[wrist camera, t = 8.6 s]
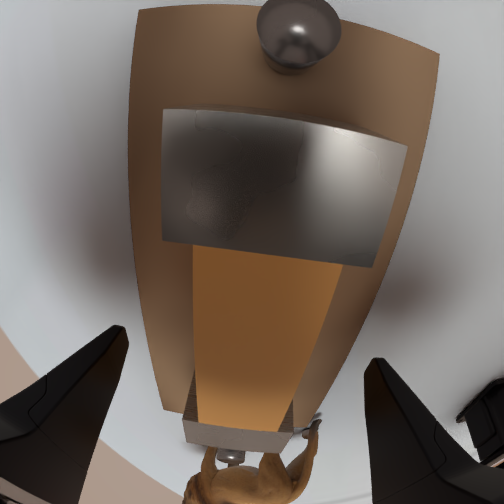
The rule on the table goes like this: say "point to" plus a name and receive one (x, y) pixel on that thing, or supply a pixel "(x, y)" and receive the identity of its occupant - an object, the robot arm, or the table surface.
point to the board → (275, 98)
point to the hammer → (266, 251)
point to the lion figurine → (253, 478)
